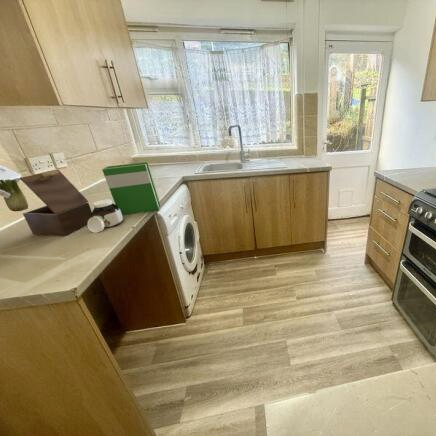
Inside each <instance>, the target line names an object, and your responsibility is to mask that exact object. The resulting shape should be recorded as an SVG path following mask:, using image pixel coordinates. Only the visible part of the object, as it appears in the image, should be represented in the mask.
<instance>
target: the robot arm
mask: <svg viewBox="0 0 436 436" xmlns="http://www.w3.org/2000/svg"><path fill="white" fill-rule="evenodd" d="M22 177H23V176H22V175H21V173H19V172H17V171H16V170H15V171H14V170H13V169H11V168H8V167H7V166H4V165H2V164H0V180H4V181H5V180H8V179H10V180H14V179H15V180H16V182H17V184H18V183H19V182H20V181H21V178H22ZM5 183H6V182H5ZM0 184H1V182H0ZM21 191H22V189H21ZM22 192H23V191H22ZM12 195H13V194H12V193H11V192H9V191H3V190H0V196H1V197H3V198H4V197H5V198H9V197H11V196H12Z"/></svg>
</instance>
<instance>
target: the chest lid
mask: <svg viewBox="0 0 436 436" xmlns="http://www.w3.org/2000/svg"><path fill="white" fill-rule="evenodd" d="M20 181H22V183H23V184H24V185H25V186H27V188H28V189H30V191H32V193H33V194H34V195H36V196H37V198H38V199H39V200H40V201H41V202H43V203H44V205H45V206H48V207H49V208H50V209H51V210H52V211H53V212H54V213H55V214H58V213H60V212H63V211H66V210H68V209H71V208H74V207H76V206H79V205H82V204H84V203H89V200H88V199H87V198H86V197H85V196H84V195H83V194H82V193H81V192H80V191H79V189H78V188H77V187H76V186H75V185H74V184H73V183H72V181H70V180H69V179H68V178H67V177H66V176H65V175H64V174H63V173H62V172H61V170H60V169H53V170H50V171H45V172H40V173H36V174H30V175H26V176H22V177H21V179H20Z"/></svg>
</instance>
